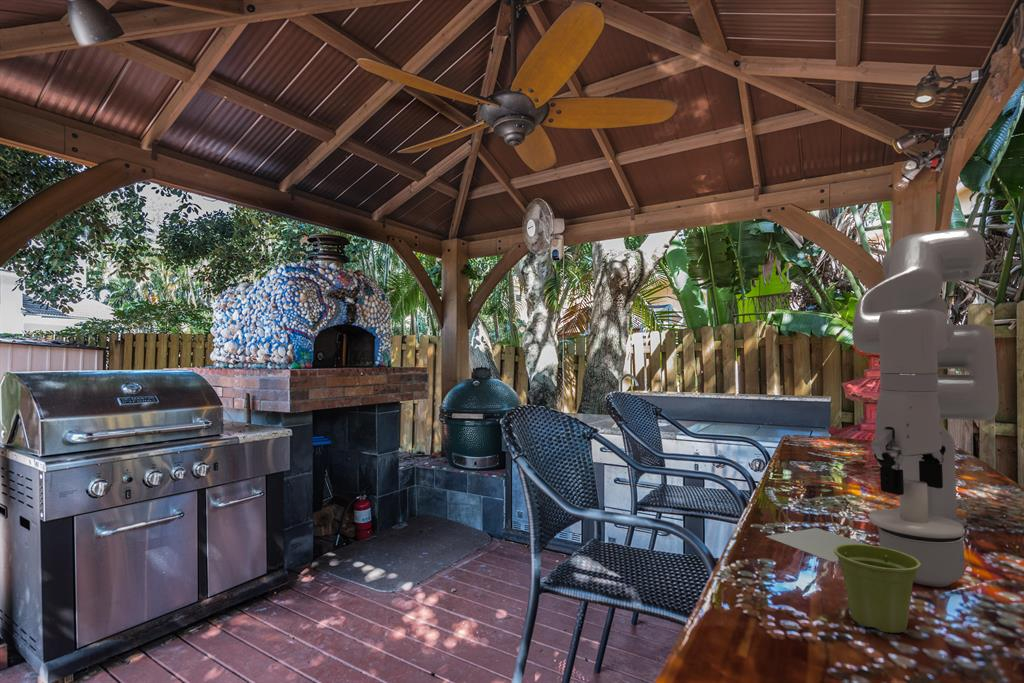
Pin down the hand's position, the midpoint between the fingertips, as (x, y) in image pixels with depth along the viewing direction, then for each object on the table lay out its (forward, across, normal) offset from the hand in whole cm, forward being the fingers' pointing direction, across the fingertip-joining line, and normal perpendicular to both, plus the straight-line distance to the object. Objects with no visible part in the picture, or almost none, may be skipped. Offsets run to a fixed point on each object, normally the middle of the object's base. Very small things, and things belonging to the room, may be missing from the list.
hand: (912, 489), depth 85 cm
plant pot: (+13, +22, +8) cm, 27 cm away
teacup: (+14, +1, 0) cm, 14 cm away
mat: (+14, +2, -15) cm, 20 cm away
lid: (+6, +1, +1) cm, 6 cm away
